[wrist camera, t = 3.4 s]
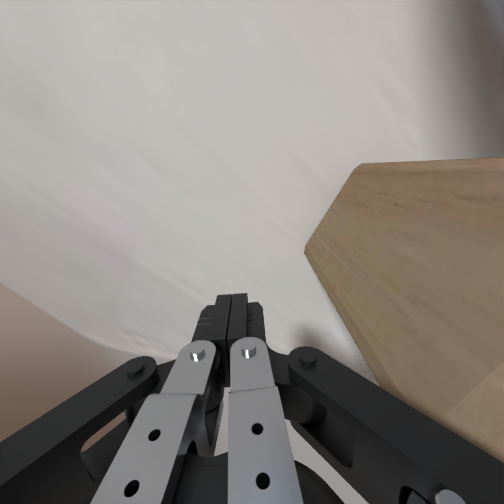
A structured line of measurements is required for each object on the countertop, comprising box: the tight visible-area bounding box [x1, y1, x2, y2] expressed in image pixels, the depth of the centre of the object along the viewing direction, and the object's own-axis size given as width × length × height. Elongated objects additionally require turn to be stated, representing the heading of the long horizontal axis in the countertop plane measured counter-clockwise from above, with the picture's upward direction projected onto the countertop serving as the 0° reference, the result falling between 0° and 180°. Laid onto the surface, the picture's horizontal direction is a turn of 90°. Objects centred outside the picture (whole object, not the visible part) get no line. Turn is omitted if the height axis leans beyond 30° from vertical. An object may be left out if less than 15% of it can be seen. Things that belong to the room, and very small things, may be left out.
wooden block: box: [304, 158, 504, 463], centre depth 15 cm, size 10×10×20 cm
